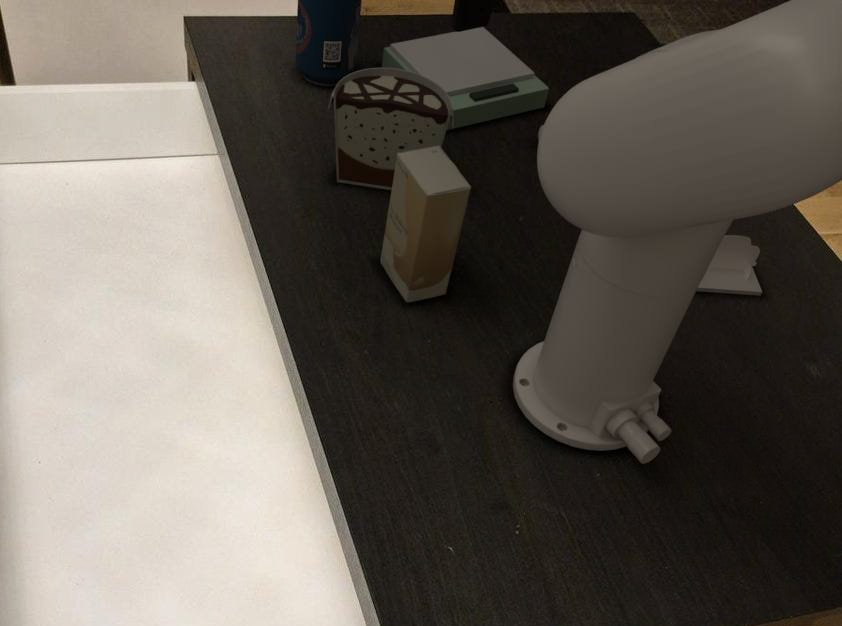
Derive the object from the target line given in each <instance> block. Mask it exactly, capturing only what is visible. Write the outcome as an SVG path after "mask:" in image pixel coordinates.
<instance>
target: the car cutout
mask: <svg viewBox="0 0 842 626" xmlns="http://www.w3.org/2000/svg"><path fill="white" fill-rule="evenodd" d="M760 249H761V248H759V246H757V245H752V239H751V237H749V236H746V235H736V234H725V236H724V237H723V239H722V241H721V243H720V245H719V247H718V249H717V251H716V253H715V255H714V257H713V259H712V261H711V263H710V265H709V267H708V269H707V271H706V273H705V275H704V277H703V279H702V281H701V282H700V284H699V286H698V288H697V290H696V292H701V293H703V292H704V293H716V294H718V293H719V294H730V295H731V294H732V295H733V294H734V295H745V296H759V297H761V295H762V294H763V290H762V288H761V285H760V283H759V280H758V277H757V275H756V272H755V270H754V268H753V267H756V266H757V264H758V262H757V261H756V260H757V259H758V258H759V255H760V253H761V250H760Z"/></svg>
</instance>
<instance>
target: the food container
mask: <svg viewBox="0 0 842 626" xmlns="http://www.w3.org/2000/svg"><path fill="white" fill-rule="evenodd" d="M332 103H333V117H334V119H333V120H334V141H335V142H334V143H335V146H334V147H335V169H336V170H335V171H336V183H341V184H349V185H354V186H361V187H367V188H373V189H380V190H386V191H392V185H393V178H394V172H395V166H396V159H397V153H401V152H405V151H410V150H416V149H421V148H427V147H433V146H440V147H441V148H442V146H443V143H444V141H445V140H444V139H445V136H446V132H447V131H448V130H447V126H448V123H449V120H450V119H451V122H452V129H451V130H454V129H455V128H454V115H453V108H452V103H451V100H450V98H449V96H448V94H447V93H446V92H445V91H444V89H443V88H442V87H440V86H439V85H438V84H437V83H435V82H434V81H432V80H430V79H428V78H426V77H424V76H422V75H419V74H417V73H414V72H410V71H407V70H402V69H395V68H382V67H369V68H364V69H360V70H356V71H354V72H353V73H351V74H349V75H347V76H345V77H344V78H343V79H341V80H340V81H339V82H338V84H337V85H336V86H334V89H333V91H332V92H331V95H330V98H329V101H328V105H327V109H326V110H330V109H331V106H332Z"/></svg>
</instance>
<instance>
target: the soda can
mask: <svg viewBox="0 0 842 626" xmlns="http://www.w3.org/2000/svg"><path fill="white" fill-rule="evenodd" d="M361 9H362V0H297V10H296V12H297V13H296V14H297V15H296V34H295V35H296V37H295V38H296V40H295V63H296V66H297V69H298V70H299V72H300V74H301V75H302V77H303V78H304V79H305V80H306V81H308V82H309V83H311V84H314V85H317V86H322V87H336V85H337V84H338V82H339V81H340V80H341V79H343V78H344V77H345V76H347V75H349V74H351V73H353V72H355V70H356V68H357V58H358V57H357V56H358V46H359V35H360V24H361V13H362V12H361V11H362V10H361Z"/></svg>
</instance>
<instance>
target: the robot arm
mask: <svg viewBox="0 0 842 626" xmlns="http://www.w3.org/2000/svg"><path fill="white" fill-rule="evenodd" d="M493 6H494V0H454V3H453V8H452V9H453V10H452V17H451V22H450V23H451V25H450V26H451V29H452V30H454V32H461V31H466V30H471V29H475V28H480V27H484V28H485V27H486V26H489V24H490V21H491V17H492V11H493ZM543 125H544V126H543V129H542V132H541V135H540V139H539V141H538V144H537V149H536V150H537V153H536V166H537V167H536V168H537V174H538V179H539V182H540V185H541V188H542V190H543V192H544V195H545V197H546V199H547V200H548V201H549V203H550V205H551V206H552V208H554V209H555V211H556V212H557V213H558V214H559V215H560V216H561V217H562V218H563V219H565V220H566V221H567V222H568V223H570V224H572V225H573V226H575V227H576V228H578V229H579V230H581V231H580V234H579V236H578V238H577V242H576V245H575V248H574V251H573V254H572V256H571V260H570V263H569V266H568V269H567V272H566V275H565V278H564V281H563V284H562V286H561V290H560V291H559V292H560V293H559V295H558V297H557V298H558V299H557V301H556V305H555V307H554V311H553V313H552V316H551V319H550V322H549V325H548V329H547V331H546V334H545V338H544V340H543V341H541V342H538V343H536V344H535V345H533V346H531V347H530V348H528V349H527V350H526V352H524V353H523V355H522V356H521V357H520V359H519V361H518V362H517V365H516V368H515V369H514V370H515V371H514V374H513V380H512V388H513V389H512V390H513V395H514V399H515V401H516V403H517V405H518V408H519V409H520V411H521V412H522V414H523V415H524V417H525V418H526V419H527V420H528V421H529V422H530V423H531V424H532V425H533V426H534V427H535V428H537V429H538V430H539V431H541V432H542V433H543V434H544V435H546V436H548V437H550V438H551V439H553V440H555V441H557V442H559V443H561V444H565V445H567V446H570V447H572V448H578V449H582V450H587V451H598V452H599V451H600V452H603V451H613V450H619V449H622V448H626V447H627V450H629V451H630V452H631V454H632V455H633V456H634V457H635V458H636V460H637V461H638V462H639V463H640V464H642V465H645V464H647V463H650V462H651V461H652V460H654V459H655V458H656V457H657V456H658V455H659V454H660V452H661V449H662V448H661V447H660V446H659V445H658V444H657V442H656V441H654V439H653V438H652V437H651V436H650V435H649V434H648V432H650V433H651V434H652V436H653V437H654V438H655V439H656V440H657V441H658V442H661V441H664V440H665V439H666V438H668V437H669V436H670V435H671V433H672V431H673V430H672V429H671V427H670V426H669V425H668V424H667V423H666V422H665V421H664V420H663V419H662V418H660V417H659V416H658V413H659V408H660V399H659V396H660V394H661V392H662V389H661V387H660V386H659V385H658V384H657V383H656V382H655V381H654V380H655V378H656V375H657V373H658V371H659V369H660V367H661V365H662V363H663V361H664V359H665V357H666V354H667V352H668V350H669V348H670V346H671V344H672V342H673V340H674V338H675V336H676V333H677V332H678V329H679V327H680V326H681V323H682V321H683V320H684V317H685V315H686V313H687V311H688V309H689V307H690V305H691V303H692V300H693V298H694V296H695V294H696V292H697V291H696V290H697V288H698V286H699V284H700V282H701V281H702V279H703V277H704V275H705V273H706V271H707V269H708V267H709V265H710V263H711V261H712V259H713V257H714V255H715V253H716V251H717V249H718V247H719V245H720V243H721V241H722V239H723V237H724V236H725V235H727V232H728V230H729V229H730V227H731V225H732V223H733V222H734V220H740V219H744V218H745V219H746V218H750V217H754V216H760V215H763V214H767V213H771V212H774V211H778V210H781V209H784V208H787V207H790V206H793V205H795V204H798V203H800V202H804V201H806V200H807V199H810V198H812V197H814V196H816V195H818V194H820V193H822V192H824V191H827V190H828V189H829V188H831V187H833V186H835V185H837V184H838V183H840V182H841V181H842V0H789V1H785V2H784V3H781V4H779V5H777V6H775V7H772V8H770V9H767V10H765V11H763V12H759V13H757V14H755V15H753V16H750V17H748V18H745V19H743V20H741V21H739V22H736V23H733V24H731V25H728V26H726V27H724V28H720V29H714V30H705V31H701V32H697V33H694V34H691V35H687V36H684V37H682V38H679V39H677V40H675V41H671V42H670V43H667V44H665V45H662V46H660V47H657V48H654V49H652V50H650V51H648V52H645V53H643V54H641V55H639V56H637V57H635V58H634V59H631V60H629V61H626V62H624V63H622V64H620V65H617V66H614V67H611V68H610V69H608V70H605V71H602V72H600V73H598V74H595V75H593V76H591V77H589V78H586V79H584V80H582V81H580V82H578V83H577V84H576V85H574V86H573V87H571V88H570V89H569V90H567V92H566V93H564V94H563V95H562V97H561V98H559V100H558V101H557V102H556V103H555V104H554V106H553V108H552V109H551V110H550V112H549V114H548V116H547V118H546V120H545V121H544V124H543Z"/></svg>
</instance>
